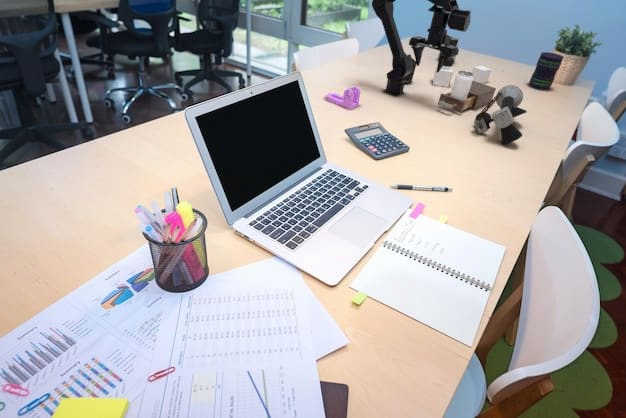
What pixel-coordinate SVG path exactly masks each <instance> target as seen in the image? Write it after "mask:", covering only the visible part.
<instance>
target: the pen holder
mask: <svg viewBox="0 0 626 418" xmlns="http://www.w3.org/2000/svg"><path fill="white" fill-rule="evenodd" d="M411 59H412V62H413V63H414V64H412V65H413V69H412V71H411V73H409V74H408V75H407V76H406V77H405V78H403V79H405V80H404V85H409V84H411V83H413V79H414V74H415V71H416V67H417V64H416V59H415V58H413V57H411Z"/></svg>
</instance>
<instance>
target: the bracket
mask: <svg viewBox="0 0 626 418" xmlns="http://www.w3.org/2000/svg"><path fill="white" fill-rule="evenodd" d="M360 97H361V89H360V87H358V86H357V85H356V86H353V87H351V88H347V89H345V90H344V91H343V95H341V94H338V93H336V92H335V93H334V92H331V93H327V94H326V100H327V101H328V102H331V103H334V104H336V105H338V106H341V107H344V108H346V109H349V110H351V109H354V108H356V107H358V106H359V104H360Z"/></svg>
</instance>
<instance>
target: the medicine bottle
mask: <svg viewBox="0 0 626 418" xmlns="http://www.w3.org/2000/svg"><path fill="white" fill-rule="evenodd" d="M453 62H454V63H455V61H454V59H453V58H452V57H450V58H449V59H448V60H447V61H446V62H445V63H444V65H443V67H442V68H441V70H440V71H439V72H438V73H437V66H438V64H436V65H435V69H434V73H433V76H432V85H433V86H439V87H444V88H445V87H446V88H449V87H450V84H451V80H452V78H453V73H454V70H453V66H454V63H453Z"/></svg>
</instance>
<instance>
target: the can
mask: <svg viewBox="0 0 626 418" xmlns="http://www.w3.org/2000/svg"><path fill="white" fill-rule="evenodd" d="M471 72H472V71H471ZM471 72H470V71H468V70H459V71H458V73H456V74H455V78H454V81H453V85H452V88H451V91H450V92H451V94H450V96H451V97H454V98H457V99H459V100H462V101H464V100H466V99H467V96H468V93H469V90H470V87H471V84H472V80H473V73H471Z"/></svg>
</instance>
